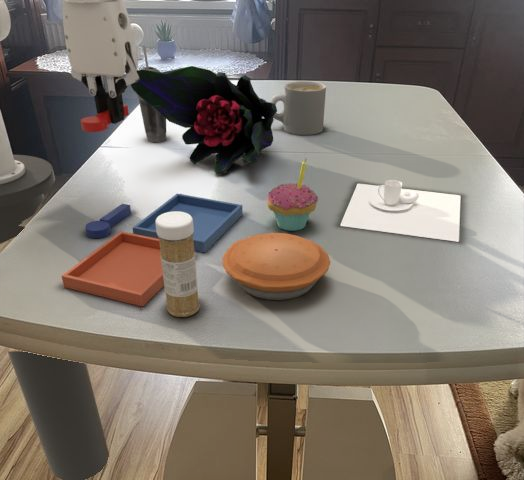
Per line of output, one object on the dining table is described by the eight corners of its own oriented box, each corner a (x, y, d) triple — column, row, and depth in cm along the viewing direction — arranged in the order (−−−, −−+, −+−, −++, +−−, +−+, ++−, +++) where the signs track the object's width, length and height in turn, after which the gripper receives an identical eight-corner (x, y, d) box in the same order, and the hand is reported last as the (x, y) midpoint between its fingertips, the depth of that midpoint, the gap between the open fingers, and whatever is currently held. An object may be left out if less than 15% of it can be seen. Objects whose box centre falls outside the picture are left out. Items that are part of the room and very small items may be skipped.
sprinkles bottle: (194, 297, 77) (187, 207, 69) (204, 314, 74) (197, 222, 66) (162, 303, 76) (151, 213, 68) (170, 321, 73) (159, 228, 64)
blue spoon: (118, 210, 99) (116, 202, 98) (137, 214, 98) (135, 205, 97) (81, 236, 92) (79, 227, 91) (101, 240, 90) (100, 231, 89)
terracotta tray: (64, 287, 79) (61, 275, 78) (122, 241, 90) (120, 231, 89) (142, 306, 75) (141, 295, 74) (194, 256, 86) (193, 245, 85)
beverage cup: (177, 136, 133) (169, 42, 120) (164, 145, 127) (154, 49, 115) (149, 133, 134) (139, 40, 122) (135, 142, 129) (123, 46, 116)
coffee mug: (322, 123, 141) (325, 81, 135) (323, 135, 134) (326, 91, 127) (271, 121, 142) (271, 80, 136) (268, 134, 134) (269, 90, 128)
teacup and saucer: (418, 198, 104) (422, 178, 102) (414, 216, 98) (419, 194, 96) (372, 193, 106) (374, 172, 104) (366, 210, 100) (368, 188, 98)
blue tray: (133, 238, 91) (132, 227, 90) (177, 203, 102) (177, 193, 101) (204, 252, 87) (204, 242, 86) (242, 214, 98) (242, 204, 97)
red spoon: (114, 113, 94) (113, 103, 93) (135, 115, 93) (133, 105, 92) (77, 130, 86) (75, 120, 85) (98, 133, 85) (96, 122, 84)
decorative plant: (270, 195, 128) (205, 209, 103) (187, 132, 132) (104, 131, 106) (317, 112, 118) (258, 106, 92) (225, 47, 121) (144, 23, 96)
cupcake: (320, 218, 97) (325, 150, 90) (308, 239, 91) (313, 168, 84) (274, 212, 100) (275, 145, 92) (259, 232, 93) (260, 162, 86)
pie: (320, 253, 87) (323, 224, 84) (335, 308, 75) (338, 277, 72) (224, 255, 87) (222, 226, 84) (222, 310, 75) (221, 279, 72)
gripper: (150, -13, 80) (164, 119, 91) (61, -16, 84) (85, 110, 96) (122, -7, 75) (141, 132, 86) (28, -11, 79) (58, 122, 90)
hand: (112, 120), depth 91 cm, fingers closed on red spoon, 1 cm apart
